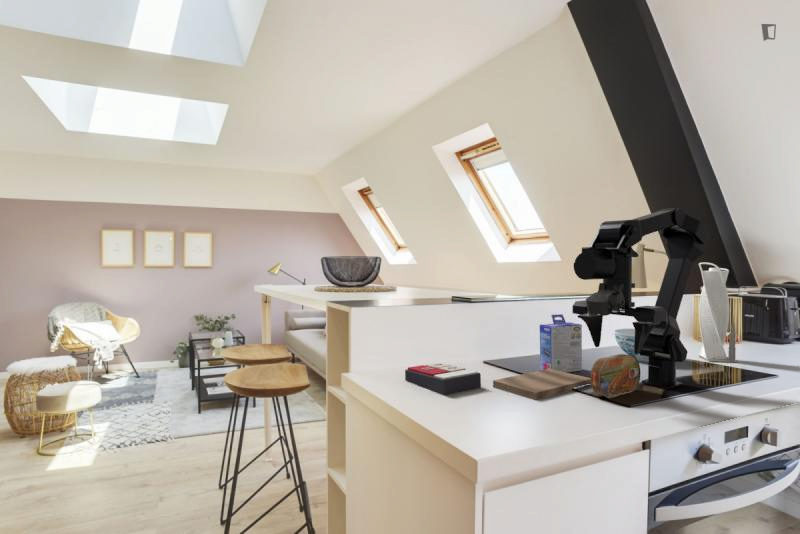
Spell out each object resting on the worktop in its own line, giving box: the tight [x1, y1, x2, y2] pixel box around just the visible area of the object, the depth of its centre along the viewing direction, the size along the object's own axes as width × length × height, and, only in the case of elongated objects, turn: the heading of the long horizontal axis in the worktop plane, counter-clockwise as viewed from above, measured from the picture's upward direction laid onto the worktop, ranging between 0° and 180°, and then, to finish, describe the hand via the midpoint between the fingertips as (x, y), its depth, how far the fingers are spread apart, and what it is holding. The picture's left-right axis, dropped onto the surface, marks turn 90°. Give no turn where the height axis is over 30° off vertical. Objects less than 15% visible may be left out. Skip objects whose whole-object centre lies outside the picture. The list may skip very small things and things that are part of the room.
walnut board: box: [492, 369, 591, 401], centre depth 112 cm, size 20×12×2 cm, turn 125°
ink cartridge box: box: [539, 313, 583, 373], centre depth 127 cm, size 10×6×14 cm, turn 111°
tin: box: [590, 353, 641, 398], centre depth 106 cm, size 15×3×8 cm, turn 123°
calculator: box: [404, 362, 482, 396], centre depth 114 cm, size 11×4×15 cm
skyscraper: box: [698, 261, 738, 364], centre depth 141 cm, size 8×8×28 cm
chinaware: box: [613, 328, 649, 363], centre depth 141 cm, size 15×15×8 cm
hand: (616, 350), depth 106 cm, fingers open, 9 cm apart
